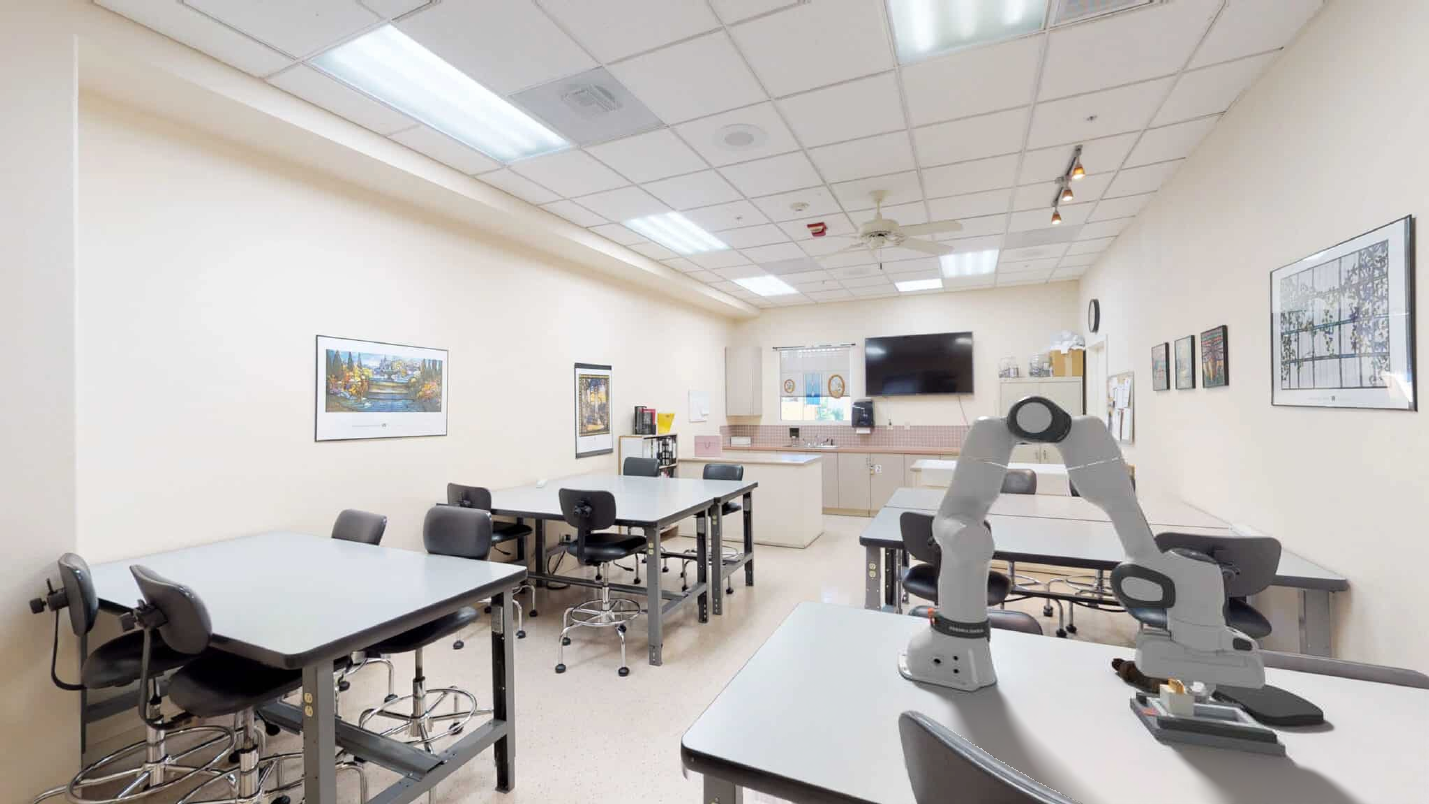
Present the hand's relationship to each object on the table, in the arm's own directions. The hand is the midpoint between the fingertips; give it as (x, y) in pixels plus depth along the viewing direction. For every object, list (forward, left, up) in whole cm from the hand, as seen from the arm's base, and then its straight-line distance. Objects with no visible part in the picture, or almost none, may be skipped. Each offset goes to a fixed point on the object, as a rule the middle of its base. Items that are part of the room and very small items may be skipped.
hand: (1198, 702), depth 110 cm
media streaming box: (+17, +14, -6) cm, 23 cm away
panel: (0, 0, -5) cm, 5 cm away
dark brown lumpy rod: (-3, +18, -6) cm, 19 cm away
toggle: (-4, 0, -3) cm, 5 cm away
